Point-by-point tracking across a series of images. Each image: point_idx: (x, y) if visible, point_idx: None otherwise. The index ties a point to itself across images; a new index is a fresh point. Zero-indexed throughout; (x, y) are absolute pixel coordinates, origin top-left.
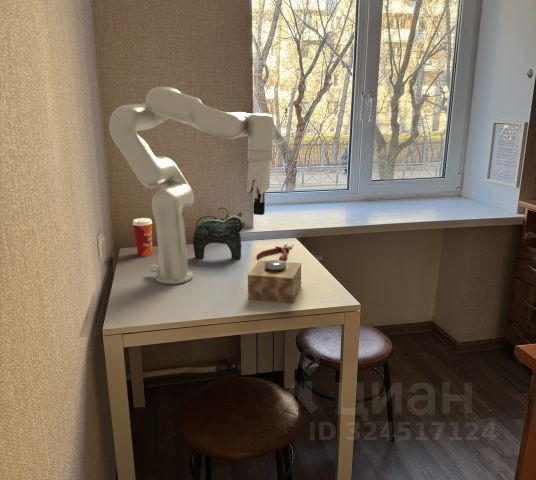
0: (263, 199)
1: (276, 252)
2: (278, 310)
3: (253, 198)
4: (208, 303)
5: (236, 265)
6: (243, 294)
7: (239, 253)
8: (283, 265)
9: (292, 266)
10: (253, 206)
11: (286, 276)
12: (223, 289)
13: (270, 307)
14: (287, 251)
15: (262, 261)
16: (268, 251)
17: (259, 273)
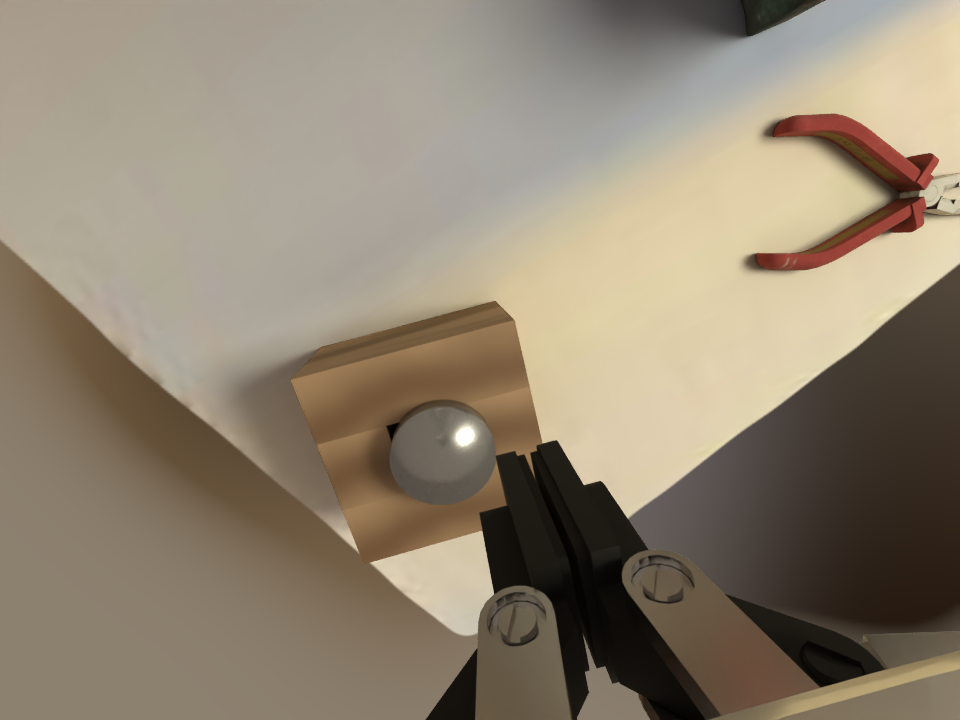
0: (644, 704)
1: (882, 176)
2: (296, 486)
3: (476, 680)
4: (189, 221)
5: (658, 71)
6: (353, 304)
7: (770, 22)
8: (434, 502)
9: (498, 498)
10: (514, 511)
11: (369, 534)
12: (354, 193)
13: (302, 453)
14: (898, 226)
15: (503, 343)
16: (863, 148)
17: (339, 419)
